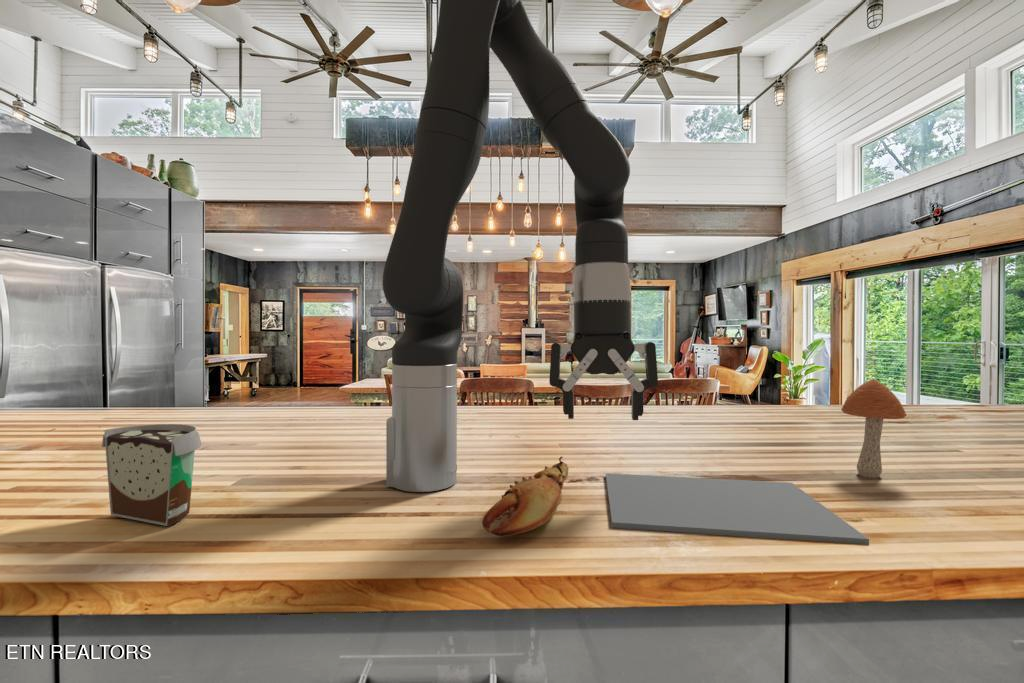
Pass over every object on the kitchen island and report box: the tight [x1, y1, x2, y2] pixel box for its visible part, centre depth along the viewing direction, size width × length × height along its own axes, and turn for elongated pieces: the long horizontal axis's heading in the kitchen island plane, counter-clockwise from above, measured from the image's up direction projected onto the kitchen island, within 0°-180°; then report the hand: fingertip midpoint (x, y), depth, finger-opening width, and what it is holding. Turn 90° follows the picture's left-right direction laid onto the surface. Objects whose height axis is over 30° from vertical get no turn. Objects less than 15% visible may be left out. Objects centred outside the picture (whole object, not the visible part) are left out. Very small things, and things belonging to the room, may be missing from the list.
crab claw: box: [481, 456, 569, 537], centre depth 58 cm, size 7×5×20 cm
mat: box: [605, 472, 870, 545], centre depth 61 cm, size 26×19×1 cm
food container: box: [101, 423, 202, 527], centre depth 58 cm, size 12×6×10 cm, turn 71°
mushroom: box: [841, 378, 907, 479], centre depth 73 cm, size 8×8×15 cm
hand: (602, 418), depth 65 cm, fingers open, 8 cm apart
